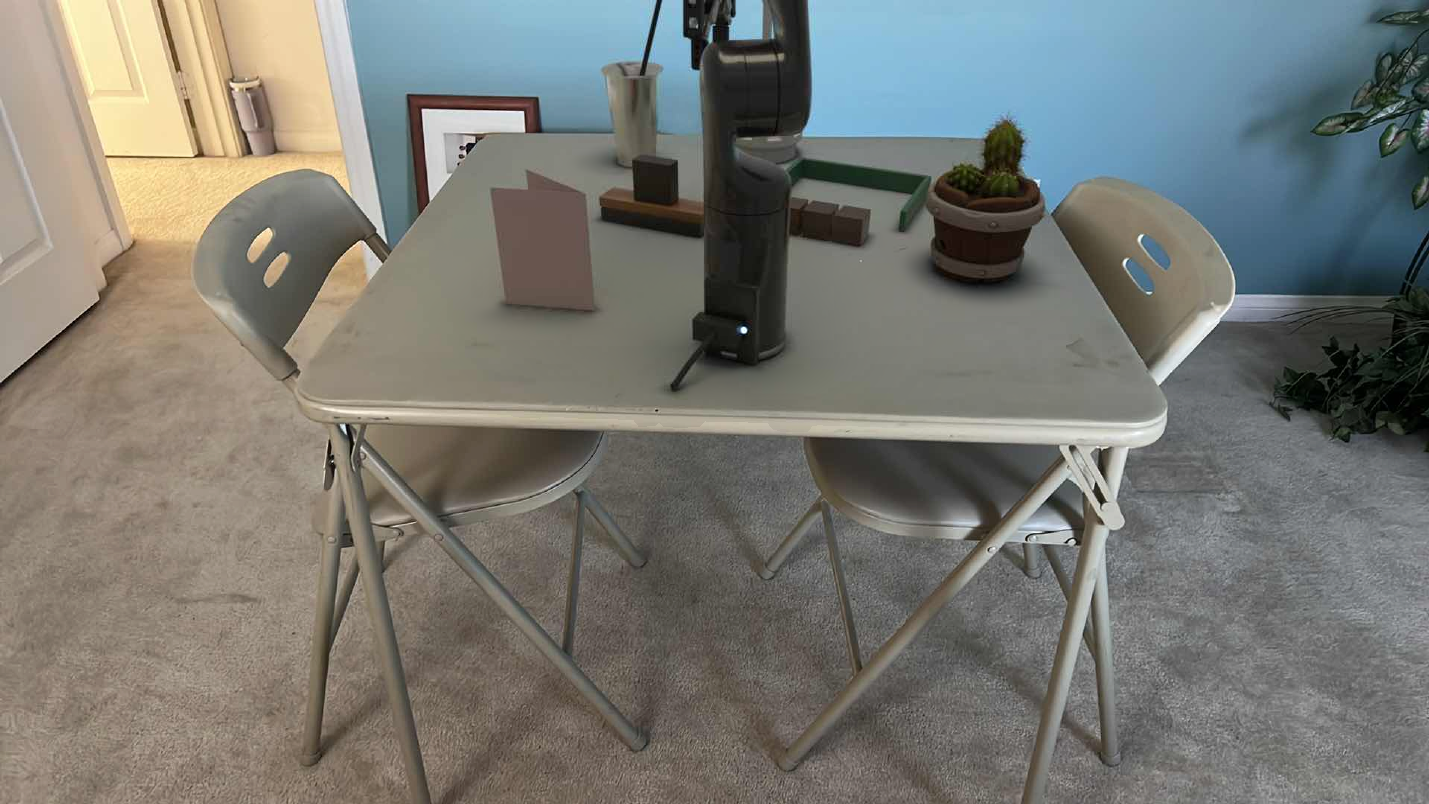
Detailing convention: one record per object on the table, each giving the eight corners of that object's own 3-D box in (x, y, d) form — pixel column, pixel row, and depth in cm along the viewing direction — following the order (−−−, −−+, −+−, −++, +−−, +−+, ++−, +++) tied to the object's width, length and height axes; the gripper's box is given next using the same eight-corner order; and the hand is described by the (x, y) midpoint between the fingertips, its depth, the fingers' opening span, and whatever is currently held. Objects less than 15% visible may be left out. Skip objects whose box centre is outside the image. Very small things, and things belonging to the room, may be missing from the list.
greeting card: (600, 308, 115) (591, 191, 107) (551, 329, 111) (538, 209, 103) (544, 279, 122) (531, 167, 114) (496, 297, 118) (479, 182, 109)
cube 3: (797, 235, 133) (799, 209, 131) (771, 231, 135) (772, 204, 133) (807, 225, 137) (808, 199, 134) (781, 221, 138) (782, 195, 136)
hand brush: (701, 238, 133) (701, 173, 127) (599, 219, 138) (595, 156, 133) (715, 226, 136) (715, 162, 131) (615, 208, 142) (611, 146, 137)
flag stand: (811, 162, 159) (822, -31, 142) (736, 168, 156) (738, -27, 140) (789, 138, 169) (797, -44, 153) (719, 143, 167) (719, -41, 150)
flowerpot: (999, 305, 116) (1029, 145, 105) (894, 268, 124) (912, 117, 113) (1052, 267, 125) (1085, 117, 114) (951, 236, 133) (973, 93, 122)
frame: (903, 231, 135) (905, 211, 133) (763, 208, 142) (764, 189, 140) (929, 194, 147) (931, 175, 145) (798, 174, 154) (799, 156, 152)
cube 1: (860, 246, 130) (862, 219, 128) (832, 241, 132) (834, 214, 130) (868, 235, 133) (871, 209, 131) (841, 231, 135) (843, 204, 133)
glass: (675, 150, 164) (670, -37, 148) (666, 172, 155) (660, -25, 138) (614, 148, 165) (603, -38, 148) (602, 170, 156) (588, -26, 139)
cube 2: (828, 241, 132) (830, 214, 130) (801, 236, 133) (803, 209, 131) (837, 230, 135) (839, 204, 133) (811, 226, 136) (812, 199, 134)
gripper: (701, -80, 124) (702, 48, 133) (661, -66, 113) (665, 72, 122) (755, -78, 122) (752, 52, 131) (720, -63, 111) (720, 77, 120)
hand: (710, 61), depth 126 cm, fingers open, 8 cm apart
